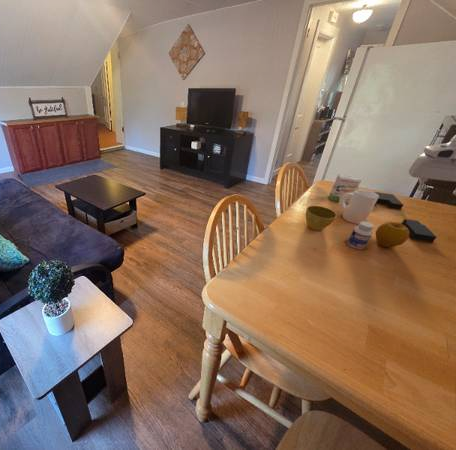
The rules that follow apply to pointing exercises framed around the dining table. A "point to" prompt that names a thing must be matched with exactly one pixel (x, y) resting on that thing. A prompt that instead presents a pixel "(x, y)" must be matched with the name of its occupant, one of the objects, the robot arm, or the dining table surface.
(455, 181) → the robot arm
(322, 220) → the flower pot
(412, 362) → the dining table surface
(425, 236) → the small pad
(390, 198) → the big pad
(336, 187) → the ink box
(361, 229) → the pill bottle
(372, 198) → the mug
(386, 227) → the apple
